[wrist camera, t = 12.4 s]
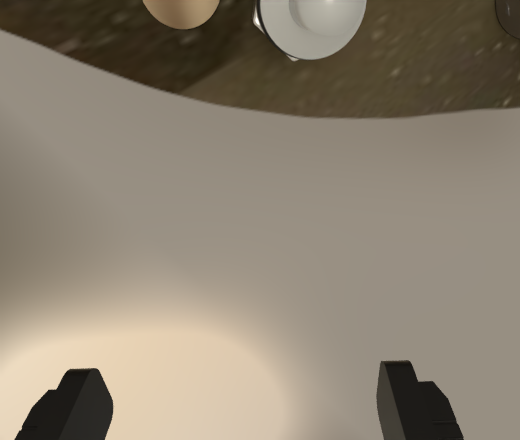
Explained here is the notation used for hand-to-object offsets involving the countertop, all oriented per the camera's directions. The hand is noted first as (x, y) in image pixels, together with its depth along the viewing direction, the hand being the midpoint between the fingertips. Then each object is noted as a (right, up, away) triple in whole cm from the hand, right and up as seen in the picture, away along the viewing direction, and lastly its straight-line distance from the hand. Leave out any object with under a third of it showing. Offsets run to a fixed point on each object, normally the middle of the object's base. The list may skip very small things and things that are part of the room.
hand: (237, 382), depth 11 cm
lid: (+4, +21, +18) cm, 28 cm away
